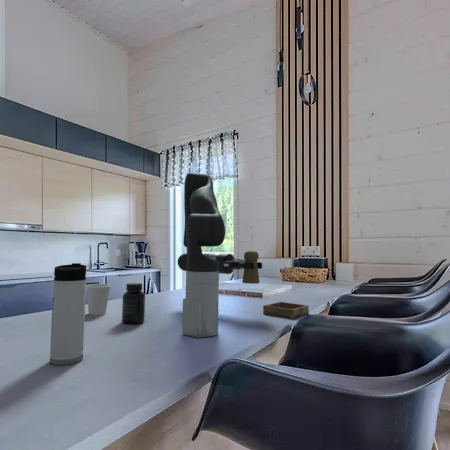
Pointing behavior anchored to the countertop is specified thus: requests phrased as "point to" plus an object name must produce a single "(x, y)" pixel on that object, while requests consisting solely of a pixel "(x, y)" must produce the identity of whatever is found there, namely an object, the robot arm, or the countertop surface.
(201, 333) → the robot arm
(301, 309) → the box
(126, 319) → the supplement bottle
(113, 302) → the countertop surface
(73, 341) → the travel mug
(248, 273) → the cork
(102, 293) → the dixie cup
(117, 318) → the countertop surface
